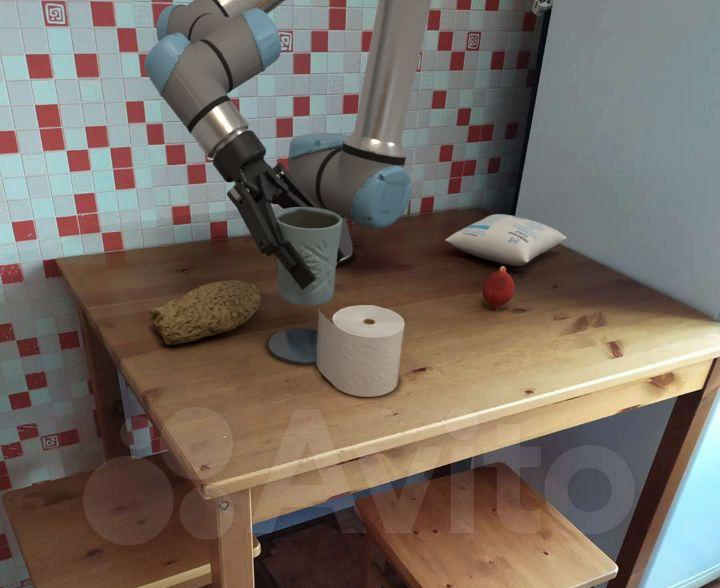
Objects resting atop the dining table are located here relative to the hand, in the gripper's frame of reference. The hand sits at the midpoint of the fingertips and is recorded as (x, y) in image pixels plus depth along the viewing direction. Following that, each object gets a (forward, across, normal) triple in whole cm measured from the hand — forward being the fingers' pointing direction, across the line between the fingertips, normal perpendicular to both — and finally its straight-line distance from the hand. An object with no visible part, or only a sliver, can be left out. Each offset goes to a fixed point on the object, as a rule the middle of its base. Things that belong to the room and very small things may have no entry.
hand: (324, 272), depth 115 cm
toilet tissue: (+16, +5, -3) cm, 17 cm away
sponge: (-4, +1, -24) cm, 24 cm away
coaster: (+7, 0, -12) cm, 14 cm away
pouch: (+21, -60, +2) cm, 63 cm away
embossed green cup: (+1, 0, -5) cm, 5 cm away
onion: (+24, -32, +5) cm, 41 cm away
